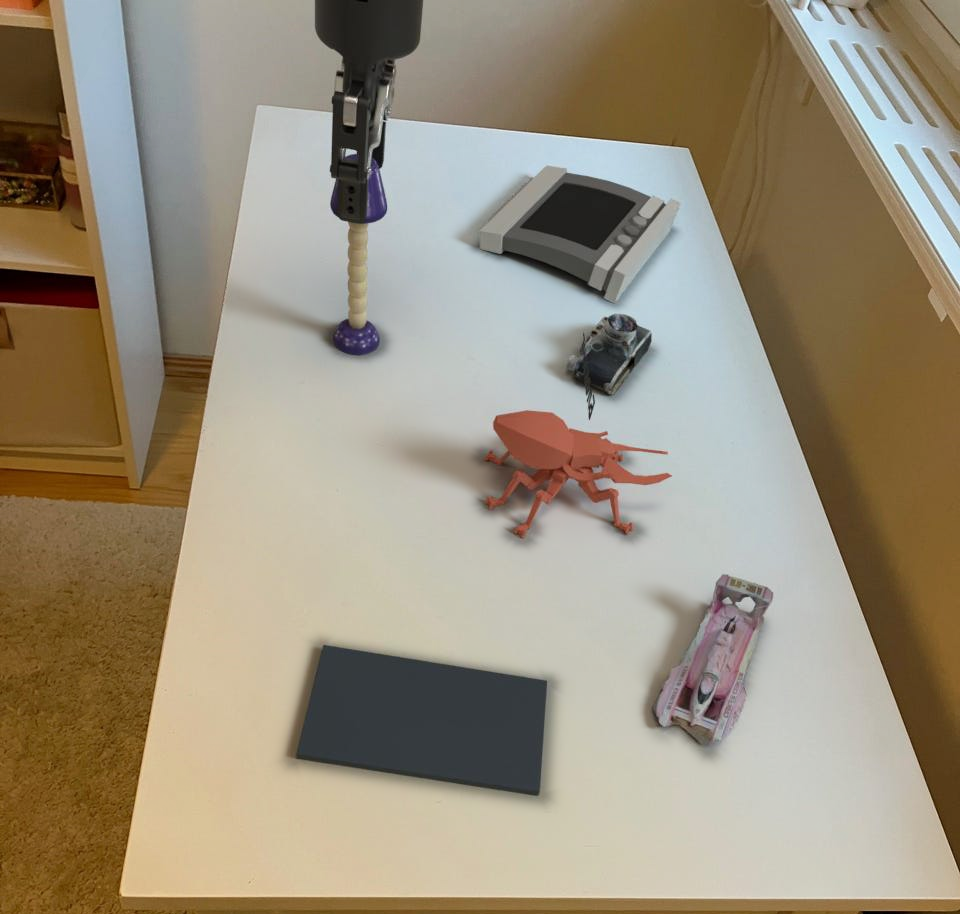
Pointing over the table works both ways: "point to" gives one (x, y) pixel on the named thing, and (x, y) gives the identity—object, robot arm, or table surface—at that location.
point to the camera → (612, 352)
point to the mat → (426, 720)
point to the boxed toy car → (715, 664)
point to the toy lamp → (360, 270)
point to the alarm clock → (582, 227)
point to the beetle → (563, 457)
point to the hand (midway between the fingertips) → (361, 192)
